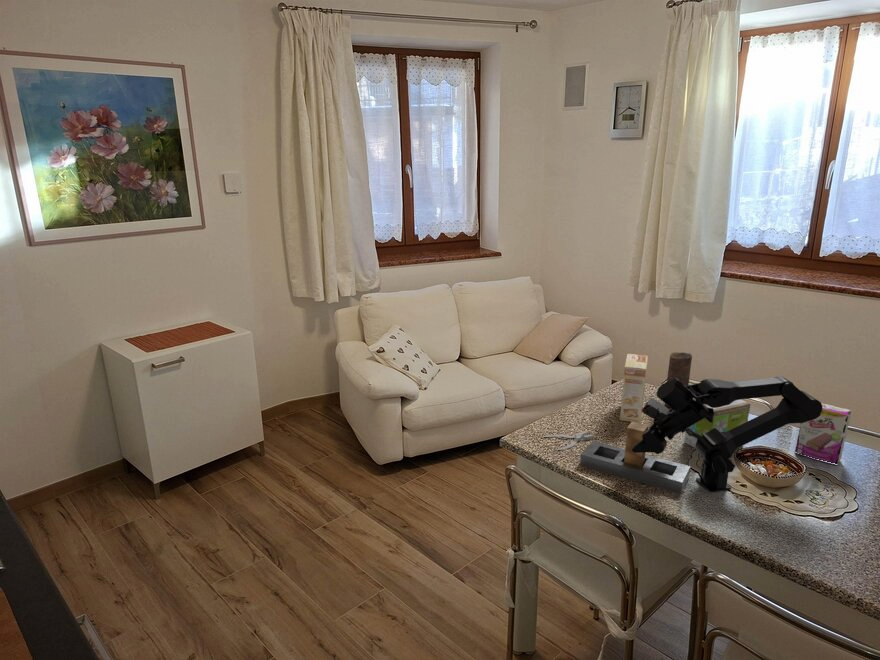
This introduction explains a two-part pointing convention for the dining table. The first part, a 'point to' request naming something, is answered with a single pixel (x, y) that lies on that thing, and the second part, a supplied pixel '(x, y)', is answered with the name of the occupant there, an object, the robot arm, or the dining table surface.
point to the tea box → (719, 420)
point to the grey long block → (636, 467)
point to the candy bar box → (824, 434)
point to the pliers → (577, 438)
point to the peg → (634, 444)
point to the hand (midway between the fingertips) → (637, 444)
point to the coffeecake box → (633, 388)
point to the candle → (679, 367)
